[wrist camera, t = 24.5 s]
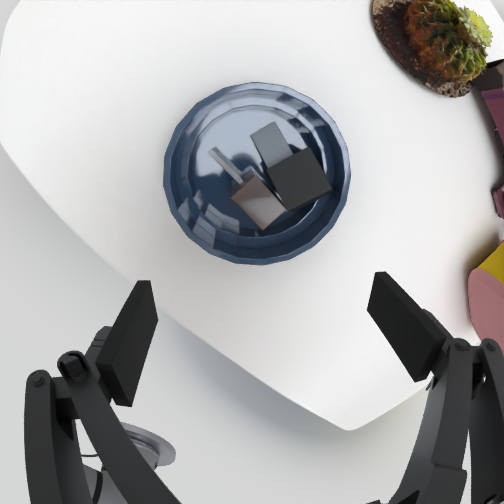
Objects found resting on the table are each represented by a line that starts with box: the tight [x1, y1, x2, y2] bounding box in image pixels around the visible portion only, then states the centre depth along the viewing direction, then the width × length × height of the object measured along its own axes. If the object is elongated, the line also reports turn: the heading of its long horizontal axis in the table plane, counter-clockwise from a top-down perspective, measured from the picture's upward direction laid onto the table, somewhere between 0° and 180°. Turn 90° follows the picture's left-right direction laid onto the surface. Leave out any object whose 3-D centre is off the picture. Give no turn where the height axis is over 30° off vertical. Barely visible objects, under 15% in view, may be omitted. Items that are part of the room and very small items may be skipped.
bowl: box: [163, 82, 351, 265], centre depth 24 cm, size 15×15×6 cm
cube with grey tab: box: [251, 122, 334, 212], centre depth 23 cm, size 8×3×4 cm
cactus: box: [373, 0, 493, 98], centre depth 16 cm, size 17×16×10 cm
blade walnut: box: [208, 148, 286, 230], centre depth 24 cm, size 8×3×4 cm, turn 43°
